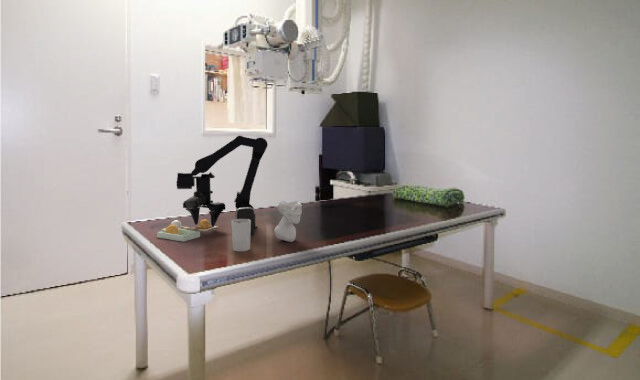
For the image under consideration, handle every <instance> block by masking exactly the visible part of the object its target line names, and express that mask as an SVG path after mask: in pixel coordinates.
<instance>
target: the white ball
mask: <svg viewBox="0 0 640 380" xmlns="http://www.w3.org/2000/svg"><path fill="white" fill-rule="evenodd" d="M170 225H175V226H177V228H179V229H182V228H181V226H183V225H182V222H181V221H180V220H177V219H176V220H173V221H171V223H170Z"/></svg>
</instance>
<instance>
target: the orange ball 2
mask: <svg viewBox="0 0 640 380" xmlns="http://www.w3.org/2000/svg"><path fill="white" fill-rule="evenodd" d="M198 226H199V227H200V228H199V229H204V230H205V229H209V228H210V227H209V226H211V222H210V221H209V220H208V219H205V218H204V219H201V220H199V221H198Z"/></svg>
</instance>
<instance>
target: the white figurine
mask: <svg viewBox="0 0 640 380" xmlns="http://www.w3.org/2000/svg"><path fill="white" fill-rule="evenodd" d="M302 207H303V204H302V202H299V201H298V200H293V201H290V202H286V201H285V200H282V201H280V202H279V203H278V205H277V211H278V213H279V214H281V215H282V217H281V219H280V221H279V222H278V224H277V225H276V227H275V228H274V230H273V232H274V235H275V237H276V238H277V239H279V240H281V241H285V242H288V243H293V242H294V241H295V240H296V236H297V229H296V227H295V226H294V224H295V225H297V224H299V223H300V221H301V216H302V213H303V210H302Z"/></svg>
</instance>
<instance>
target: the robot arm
mask: <svg viewBox="0 0 640 380" xmlns="http://www.w3.org/2000/svg"><path fill="white" fill-rule="evenodd" d="M240 146H245V147H248V148H249V147H250V148H252V152H251V153H252V154H251V159H250V162H249V165H248V168H247V172H246V176H245V179H244V183H243V185H242V188H241V190H240V191H238V190H237V191H236V195H235V196H236V197H235V198H234V202H233V203H235V204H234V205H235V209H238V208H243V207H250V208H252V209H253V210H254V211H255V209H254V208H255V206H253V205H252V204H251V203H250V201H251V191H252V188H253V185H254V181H255V179H256V175H257V172H258V168H259V165H260V162H261V159H262V158H263V156H264V154H265V153H266V151H267V147H268V141H267V140H266V139H265V138H263V137H256V138H252V137H246V136H243V135H237V136H236V137H235V138H234V139H231V141H230V142H228V143H226V144H225V145H224V146H222V147H220V148H219V149H217V150H216V151H214V152H213V153H211V154H208V155H206V156H204V157H202V158H200V159H197V160H196V161H195V164H194V168H193V170H191V172H177V177H176V190H193V187H195V186H196V187H195V188H196V190H195V191H193V196H190V197H189V198H188V199H186V200H184V201H183V203H182V208H183V209H185V211H188V213H190V216H191V217H192V221H193V222H194V225H195V226H197V225H199V221H200V220H199V219H200V211H201V208H203V209H208V210H209V211H208V213H209V215H210V226H212V227H214V226H216V223H217V221H218V219H219V216H220V215H221V213H222V212H224V211H225V210H226V204H225V202H220V201H217V202H214V201H213V200H212V194H214V193H213V192H214V190H211V179H214V178H215V177H216V176H215V174H213V172H211V171H210V172H209V173H206V172H208V171H209V170H210V169H211V168H212V167H213V166H214V165H215V164H217V162H218V161H220V160H222V159H223V158H224V157H225V156H227V155H228V154H230V153H231V152H233V151H235V150H236V149H237V148H239V147H240ZM199 174H201V175H200V176H198V175H199ZM212 227H211V228H212ZM258 227H259V226H258V225H256V213H254V229H257V228H258Z"/></svg>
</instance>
